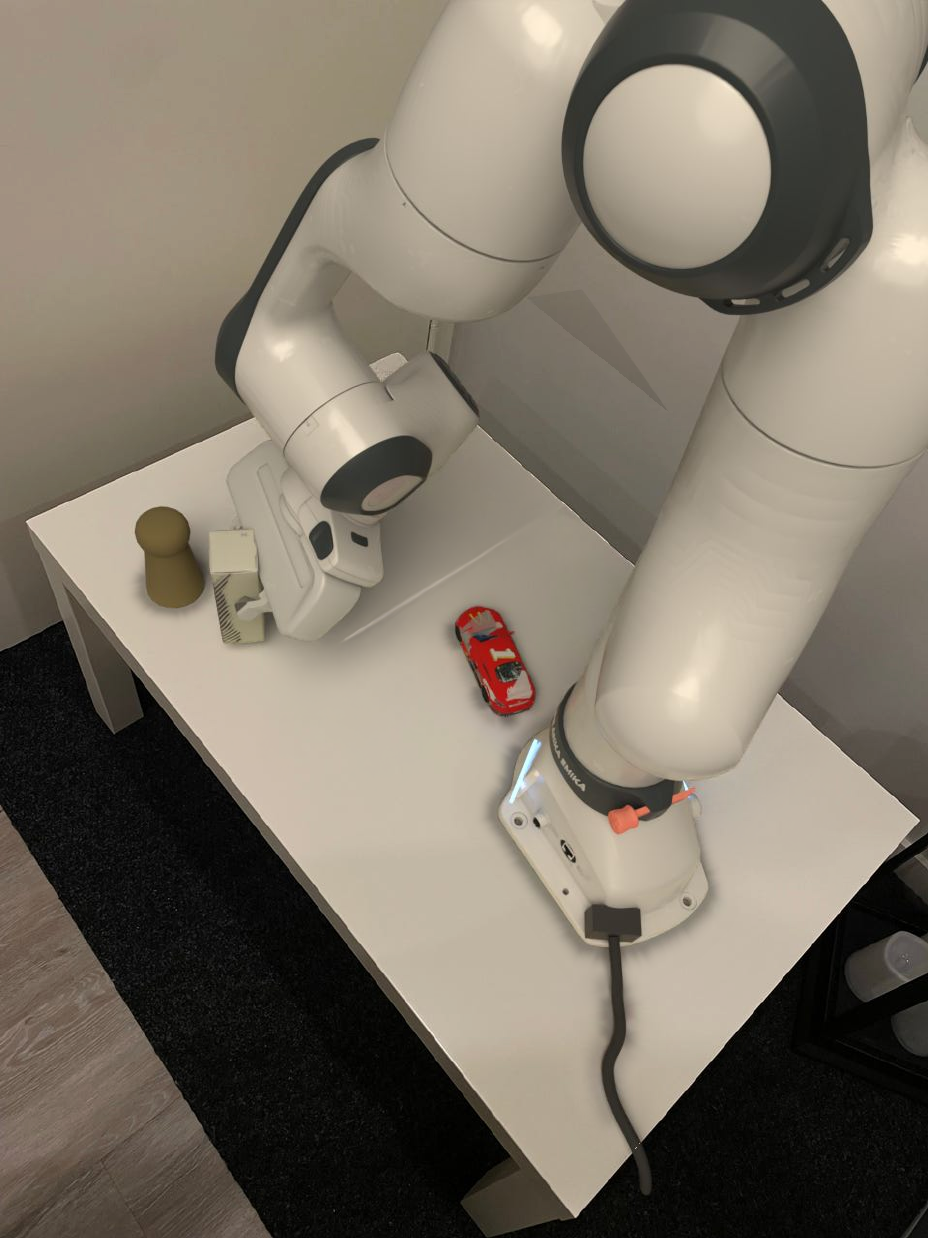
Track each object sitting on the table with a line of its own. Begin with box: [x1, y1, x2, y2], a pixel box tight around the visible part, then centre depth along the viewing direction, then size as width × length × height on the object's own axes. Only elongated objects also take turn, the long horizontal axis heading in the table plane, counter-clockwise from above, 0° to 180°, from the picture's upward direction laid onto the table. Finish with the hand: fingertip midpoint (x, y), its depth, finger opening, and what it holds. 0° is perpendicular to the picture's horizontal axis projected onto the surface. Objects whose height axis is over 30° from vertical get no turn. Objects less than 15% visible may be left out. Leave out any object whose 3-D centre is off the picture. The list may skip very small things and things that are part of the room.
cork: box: [134, 505, 206, 609], centre depth 89 cm, size 6×6×11 cm
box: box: [208, 528, 266, 645], centre depth 84 cm, size 5×4×13 cm
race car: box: [454, 605, 536, 718], centre depth 92 cm, size 13×5×4 cm, turn 20°
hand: (231, 586), depth 84 cm, fingers closed on box, 5 cm apart
